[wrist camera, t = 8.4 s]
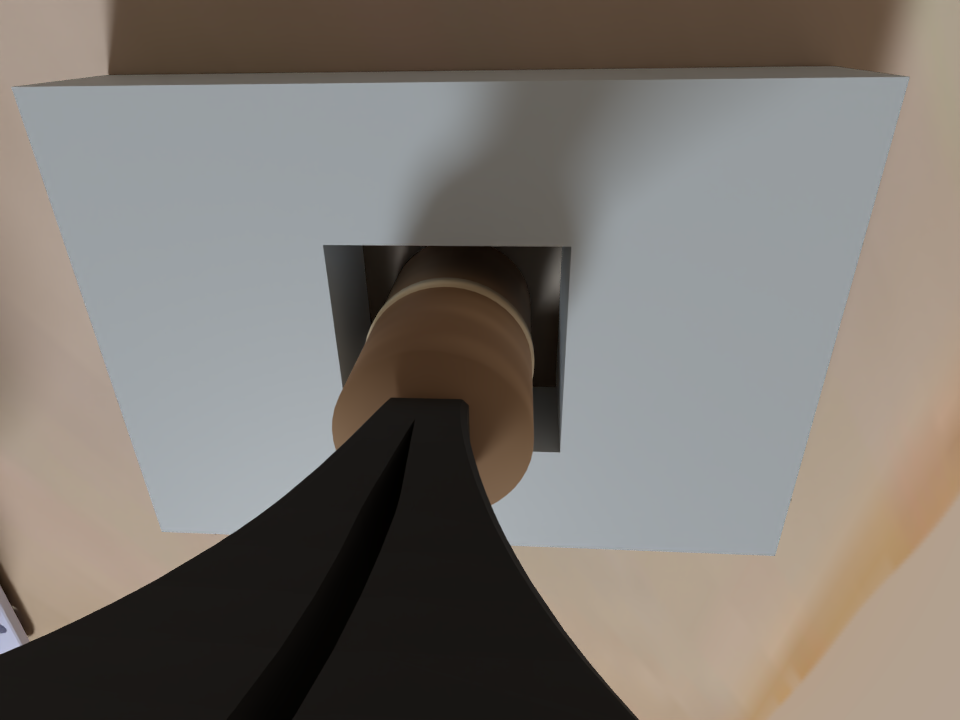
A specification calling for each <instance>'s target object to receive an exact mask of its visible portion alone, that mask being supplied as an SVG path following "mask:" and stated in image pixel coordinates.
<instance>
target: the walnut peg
mask: <svg viewBox="0 0 960 720" xmlns="http://www.w3.org/2000/svg"><path fill="white" fill-rule="evenodd" d="M533 374H534V349H533V342H532V338H531V309H530V295H529V291H528V287H527V285H526V282H525V279H524V278H523V276H522V274H521V272H520V271H519V269H518V268H517V267H516V265H515V264H514V263H513V262H512V261H511V260H510V259H509V258H508V257H507V256H505V255H504V254H503V253H502V252H500V251H498V250H497V249H495V248H493V247H491V246H428V247H426V248H424V249H422V250H421V251H419V252H418V253H417V254H415V255H414V256H413V257H412V258H411V259H410V260H409V261H408V262H407V263H406V265H405V266H404V267H403V269H402V270H401V272H400V274H399V276H398V278H397V280H396V282H395V284H394V286H393V288H392V290H391V292H390V294H389V296H388V298H387V300H386V302H385V304H384V306H383V307H382V308H381V309H380V311H379V312H378V314H377V316H376V318H375V319H374V321H373V323H372V325H371V327H370V330H369V332H368V335H367V338H366V343H365V345H364V347H363V349H362V351H361V353H360V355H359V357H358V359H357V361H356V363H355V365H354V367H353V369H352V371H351V373H350V375H349V377H348V379H347V381H346V383H345V385H344V387H343V389H342V391H341V393H340V395H339V398H338V400H337V403H336V405H335V408H334V413H333V418H332V435H333V442H334V445H335V449H336V450H337V449H338V448H339V447H340V446H341V445H342V444H344V443H345V442H346V441H347V440H348V439H349V438H350V437H351V436H352V435H353V434H354V433H355V432H356V431H357V430H358V429H359V428H360V427H361V426H362V425H363V424H364V423H365V422H366V421H367V420H368V419H369V418H370V417H371V416H372V415H373V414H374V413H375V412H376V411H377V410H378V409H379V408H380V407H381V406H382V405H383V404H384V403H385V402H386V401H388V400H389V399H390V398H431V399H463V400H464V401H465V402H466V403H467V404H468V405H469V425H470V443H471V447H472V451H473V455H474V458H475V462H476V465H477V468H478V471H479V474H480V478H481V480H482V483H483V486H484V489H485V491H486V494H487V496H488V499H489V501H490V503H491V505H493V504H494V503H496V502H498V501H499V500H501V499H502V498H504V497H505V496H506V495H507V494H509V493H510V492H511V491H512V490H513V489H514V488H515V487H516V486H517V484H518V483H519V482H520V481H521V479H522V478H523V476H524V474H525V473H526V471H527V469H528V466H529V464H530V461H531V458H532V453H533V446H534V422H533V384H532V378H533Z"/></svg>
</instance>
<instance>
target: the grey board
mask: <svg viewBox="0 0 960 720" xmlns="http://www.w3.org/2000/svg"><path fill="white" fill-rule="evenodd" d="M909 78H910V77H907V76H900V75H893V74H886V73H879V72H872V71H865V70H858V69H851V68H844V67H837V66H798V67H718V68H637V69H557V70H477V71H397V72H317V73H236V74H156V75H104V76H96V77H88V78H79V79H71V80H63V81H55V82H47V83H39V84H31V85H23V86H15V87H12V90H13V93H14V96H15V99H16V102H17V105H18V108H19V111H20V114H21V117H22V120H23V123H24V126H25V129H26V132H27V135H28V138H29V141H30V143H31V146H32V149H33V152H34V155H35V158H36V161H37V164H38V167H39V170H40V173H41V176H42V179H43V182H44V185H45V188H46V191H47V194H48V197H49V200H50V203H51V205H52V208H53V211H54V214H55V217H56V220H57V223H58V226H59V229H60V232H61V235H62V238H63V241H64V244H65V247H66V250H67V253H68V256H69V259H70V262H71V265H72V267H73V270H74V273H75V276H76V279H77V282H78V285H79V288H80V291H81V294H82V297H83V300H84V303H85V306H86V309H87V312H88V315H89V318H90V321H91V324H92V327H93V329H94V332H95V335H96V338H97V341H98V344H99V347H100V350H101V353H102V356H103V359H104V362H105V365H106V368H107V371H108V374H109V377H110V380H111V383H112V386H113V389H114V391H115V394H116V397H117V400H118V403H119V406H120V409H121V412H122V415H123V418H124V421H125V424H126V427H127V430H128V433H129V436H130V439H131V442H132V445H133V448H134V451H135V453H136V456H137V459H138V462H139V465H140V468H141V471H142V474H143V477H144V480H145V483H146V486H147V489H148V492H149V495H150V498H151V501H152V504H153V507H154V510H155V512H156V515H157V518H158V521H159V524H160V527H161V530H162V532H181V533H207V534H232V533H234V532H235V531H237V530H238V529H240V528H241V527H243V526H244V525H245V524H247V523H248V522H250V521H251V520H253V519H254V518H256V517H257V516H258V515H260V514H261V513H262V512H264V511H265V510H266V509H268V508H269V507H271V506H272V505H273V504H274V503H276V502H277V501H278V500H280V499H281V498H282V497H283V496H285V495H286V494H287V493H288V492H289V491H291V490H292V489H293V488H294V487H295V486H297V485H298V484H299V483H300V482H301V481H302V480H304V479H305V478H306V477H307V476H308V475H310V474H311V473H312V472H313V471H314V470H316V469H317V468H318V467H319V466H320V465H321V464H322V463H323V462H324V461H325V460H326V459H327V458H329V457H330V456H331V455H332V454H333V453H334V452H335V451H336V449H335V445H334V442H333V435H332V418H333V413H334V408H335V405H336V403H337V400H338V398H339V395H340V393H341V391H342V389H343V387H344V385H345V383H346V381H347V379H348V377H349V375H350V373H351V371H352V369H353V367H354V365H355V363H356V361H357V359H358V357H359V355H360V353H361V351H362V349H363V347H364V345H365V343H366V338H367V335H368V332H369V330H370V327H371V320H370V311H369V302H368V292H367V283H366V274H365V264H364V255H363V246H362V245H398V246H547V247H562V262H561V283H560V304H559V324H558V345H557V366H556V387H533V422H534V446H533V453H532V458H531V461H530V464H529V466H528V469H527V471H526V473H525V474H524V476H523V478H522V479H521V481H520V482H519V483H518V484H517V486H516V487H515V488H514V489H513V490H512V491H511V492H510V493H509V494H507V495H506V496H505V497H504V498H502V499H501V500H499V501H498V502H496V503H494V504H493V505H491V506H492V508H493V511H494V513H495V515H496V517H497V520H498V522H499V524H500V526H501V528H502V530H503V532H504V534H505V536H506V538H507V540H508V542H509V544H510V545H513V546H538V547H564V548H589V549H615V550H640V551H666V552H691V553H717V554H742V555H768V556H775V554H776V550H777V547H778V543H779V540H780V536H781V533H782V529H783V525H784V522H785V518H786V515H787V511H788V508H789V504H790V501H791V497H792V493H793V490H794V486H795V483H796V479H797V476H798V472H799V469H800V465H801V461H802V458H803V454H804V451H805V447H806V444H807V440H808V437H809V433H810V429H811V426H812V422H813V419H814V415H815V412H816V408H817V405H818V401H819V397H820V394H821V390H822V387H823V383H824V380H825V376H826V373H827V369H828V366H829V362H830V358H831V355H832V351H833V348H834V344H835V341H836V337H837V334H838V330H839V326H840V323H841V319H842V316H843V312H844V309H845V305H846V302H847V298H848V294H849V291H850V287H851V284H852V280H853V277H854V273H855V270H856V266H857V262H858V259H859V255H860V252H861V248H862V245H863V241H864V238H865V234H866V230H867V227H868V223H869V220H870V216H871V213H872V209H873V206H874V202H875V198H876V195H877V191H878V188H879V184H880V181H881V177H882V174H883V170H884V166H885V163H886V159H887V156H888V152H889V149H890V145H891V142H892V138H893V134H894V131H895V127H896V124H897V120H898V117H899V113H900V110H901V106H902V102H903V99H904V95H905V92H906V88H907V85H908V81H909Z"/></svg>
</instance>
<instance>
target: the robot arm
mask: <svg viewBox="0 0 960 720" xmlns="http://www.w3.org/2000/svg"><path fill="white" fill-rule="evenodd" d="M0 720H639V719H638V718H637V717H636V716H635V715H634V714H633V713H632V711H631V710H630V709H629V708H628V707H627V706H626V705H625V704H624V703H623V701H622V700H621V699H620V698H619V697H618V696H617V695H616V694H615V693H614V691H613V690H612V689H611V688H610V687H609V686H608V684H607V683H606V682H605V681H604V680H603V678H602V677H601V676H600V675H599V674H598V672H597V671H596V670H595V669H594V668H593V667H592V665H591V664H590V663H589V662H588V660H587V659H586V658H585V656H584V655H583V654H582V653H581V651H580V650H579V649H578V647H577V646H576V645H575V644H574V642H573V641H572V640H571V638H570V637H569V636H568V635H567V633H566V632H565V631H564V629H563V628H562V626H561V625H560V623H559V622H558V621H557V619H556V618H555V616H554V615H553V613H552V612H551V610H550V609H549V607H548V606H547V604H546V603H545V601H544V600H543V599H542V597H541V596H540V594H539V593H538V591H537V590H536V588H535V587H534V585H533V584H532V582H531V581H530V579H529V577H528V576H527V574H526V572H525V571H524V569H523V567H522V565H521V564H520V562H519V560H518V559H517V557H516V555H515V553H514V551H513V549H512V548H511V546H510V544H509V542H508V540H507V538H506V536H505V534H504V532H503V530H502V528H501V526H500V524H499V522H498V520H497V517H496V515H495V513H494V511H493V508H492V506H491V503H490V501H489V499H488V496H487V494H486V491H485V489H484V486H483V483H482V480H481V478H480V474H479V471H478V468H477V465H476V462H475V458H474V455H473V451H472V447H471V443H470V425H469V405H468V404H467V403H466V402H465V401H464V400H463V399H431V398H390V399H389V400H388V401H386V402H385V403H384V404H383V405H382V406H381V407H380V408H379V409H378V410H377V411H376V412H375V413H374V414H373V415H372V416H371V417H370V418H369V419H368V420H367V421H366V422H365V423H364V424H363V425H362V426H361V427H360V428H359V429H358V430H357V431H356V432H355V433H354V434H353V435H352V436H351V437H350V438H349V439H348V440H347V441H346V442H345V443H344V444H342V445H341V446H340V447H339V448H338V449H337V450H336V451H335V452H334V453H333V454H332V455H331V456H330V457H329V458H327V459H326V460H325V461H324V462H323V463H322V464H321V465H320V466H319V467H318V468H317V469H316V470H314V471H313V472H312V473H311V474H310V475H308V476H307V477H306V478H305V479H304V480H302V481H301V482H300V483H299V484H298V485H297V486H295V487H294V488H293V489H292V490H291V491H289V492H288V493H287V494H286V495H285V496H283V497H282V498H281V499H280V500H278V501H277V502H276V503H274V504H273V505H272V506H271V507H269V508H268V509H266V510H265V511H264V512H262V513H261V514H260V515H258V516H257V517H256V518H254V519H253V520H251V521H250V522H248V523H247V524H245V525H244V526H243V527H241V528H240V529H238V530H237V531H235V532H234V533H232V534H231V535H229V536H228V537H226V538H225V539H223V540H222V541H220V542H219V543H217V544H216V545H214V546H212V547H211V548H209V549H207V550H206V551H204V552H202V553H201V554H199V555H197V556H196V557H194V558H192V559H191V560H189V561H187V562H186V563H184V564H182V565H180V566H179V567H177V568H175V569H174V570H172V571H170V572H169V573H167V574H165V575H164V576H162V577H160V578H159V579H157V580H155V581H153V582H151V583H150V584H148V585H146V586H144V587H142V588H140V589H138V590H137V591H135V592H133V593H131V594H129V595H127V596H125V597H123V598H121V599H119V600H117V601H116V602H114V603H112V604H110V605H108V606H106V607H103V608H101V609H99V610H97V611H95V612H93V613H91V614H89V615H87V616H85V617H83V618H81V619H79V620H77V621H75V622H73V623H71V624H69V625H66V626H64V627H62V628H60V629H58V630H56V631H53V632H51V633H49V634H47V635H45V636H42V637H40V638H38V639H35V640H33V641H31V642H29V639H28V637H27V635H26V633H25V631H24V629H23V627H22V625H21V623H20V622H19V620H18V618H17V616H16V614H15V612H14V610H13V608H12V606H11V605H10V603H9V601H8V599H7V597H6V595H5V593H4V591H3V589H2V587H1V586H0Z"/></svg>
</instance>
